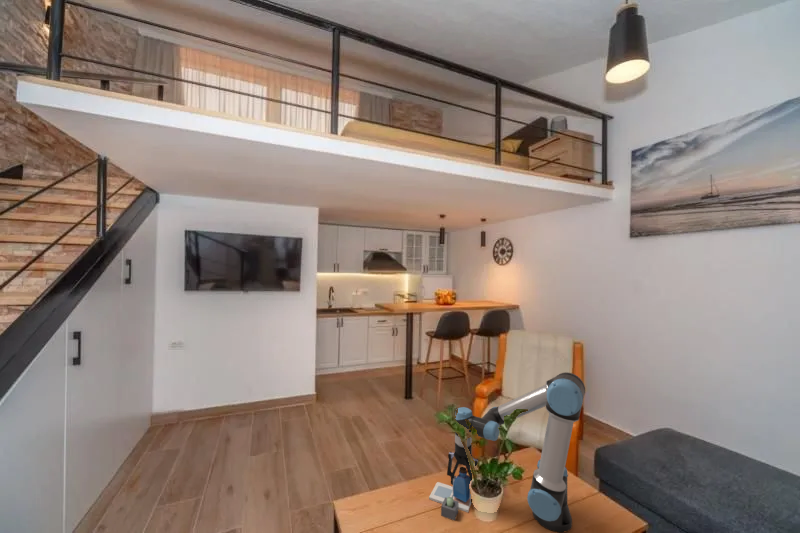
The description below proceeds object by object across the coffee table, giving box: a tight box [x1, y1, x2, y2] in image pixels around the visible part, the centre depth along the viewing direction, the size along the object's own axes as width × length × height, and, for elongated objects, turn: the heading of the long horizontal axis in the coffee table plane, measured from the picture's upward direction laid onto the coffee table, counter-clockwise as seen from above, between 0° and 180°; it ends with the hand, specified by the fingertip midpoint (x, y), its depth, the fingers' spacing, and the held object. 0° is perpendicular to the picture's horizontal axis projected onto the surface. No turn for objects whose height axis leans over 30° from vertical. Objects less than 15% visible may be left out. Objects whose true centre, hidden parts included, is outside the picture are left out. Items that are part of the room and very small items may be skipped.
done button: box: [447, 497, 453, 508], centre depth 136 cm, size 3×3×4 cm
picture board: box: [428, 481, 472, 513], centre depth 146 cm, size 18×12×1 cm, turn 65°
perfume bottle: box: [452, 466, 471, 502], centre depth 144 cm, size 6×6×12 cm
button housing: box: [440, 497, 459, 521], centre depth 136 cm, size 6×6×4 cm
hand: (462, 494), depth 144 cm, fingers closed on perfume bottle, 7 cm apart
